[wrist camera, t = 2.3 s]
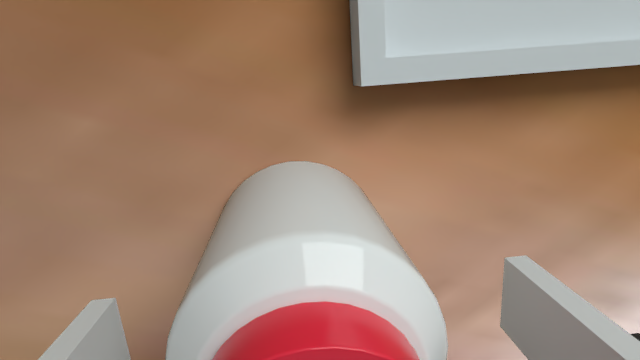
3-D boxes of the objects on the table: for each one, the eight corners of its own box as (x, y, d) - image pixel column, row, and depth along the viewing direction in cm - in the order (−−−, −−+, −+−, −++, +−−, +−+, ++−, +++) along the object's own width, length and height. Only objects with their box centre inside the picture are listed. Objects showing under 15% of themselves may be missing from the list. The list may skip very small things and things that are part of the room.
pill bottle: (408, 223, 19) (574, 418, 8) (310, 333, 20) (342, 629, 9) (284, 126, 17) (287, 211, 6) (184, 253, 18) (43, 508, 7)
